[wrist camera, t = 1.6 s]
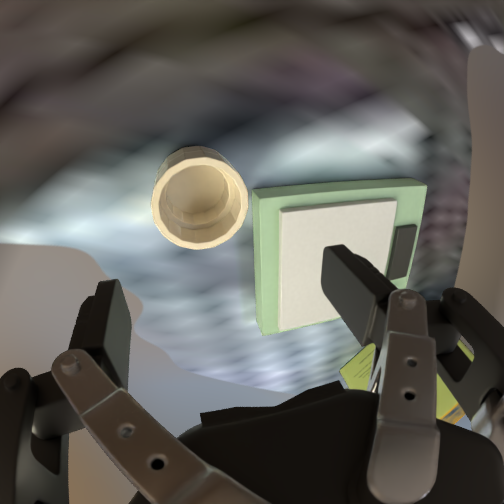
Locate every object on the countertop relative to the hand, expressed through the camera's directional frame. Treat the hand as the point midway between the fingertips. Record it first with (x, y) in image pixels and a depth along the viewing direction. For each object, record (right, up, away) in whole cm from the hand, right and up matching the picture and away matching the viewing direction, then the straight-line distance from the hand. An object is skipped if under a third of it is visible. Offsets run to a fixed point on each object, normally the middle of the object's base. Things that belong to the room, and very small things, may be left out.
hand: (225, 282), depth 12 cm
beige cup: (-3, +6, +12) cm, 14 cm away
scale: (+9, +1, +18) cm, 21 cm away
